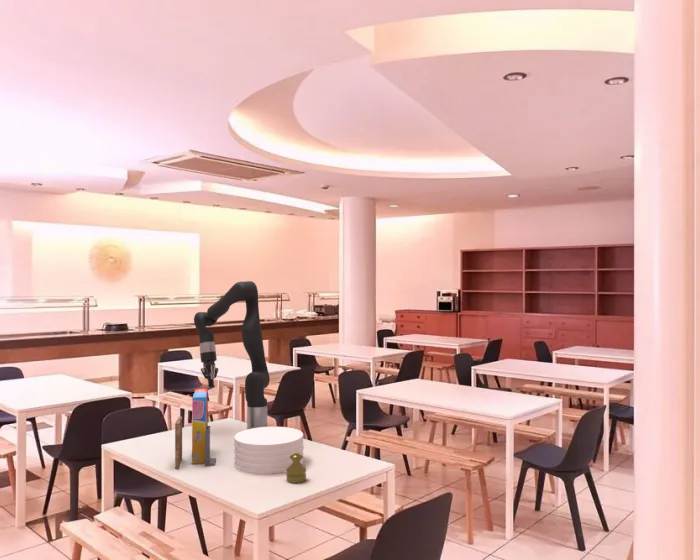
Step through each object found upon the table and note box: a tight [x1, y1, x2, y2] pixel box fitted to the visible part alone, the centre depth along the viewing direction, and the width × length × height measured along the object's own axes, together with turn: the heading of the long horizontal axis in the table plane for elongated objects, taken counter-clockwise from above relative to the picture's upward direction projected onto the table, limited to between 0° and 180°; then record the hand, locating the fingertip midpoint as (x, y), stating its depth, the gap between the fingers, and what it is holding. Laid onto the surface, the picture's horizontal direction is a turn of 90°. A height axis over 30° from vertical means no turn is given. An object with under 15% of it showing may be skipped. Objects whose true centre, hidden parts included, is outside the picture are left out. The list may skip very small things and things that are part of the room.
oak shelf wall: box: [174, 416, 183, 470], centre depth 227 cm, size 2×12×18 cm, turn 11°
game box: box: [191, 388, 209, 465], centre depth 237 cm, size 21×6×27 cm, turn 12°
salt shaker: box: [286, 453, 307, 484], centre depth 208 cm, size 7×7×10 cm
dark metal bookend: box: [204, 425, 217, 467], centre depth 229 cm, size 4×8×14 cm, turn 11°
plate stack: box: [233, 426, 304, 475], centre depth 229 cm, size 28×28×12 cm
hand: (211, 387), depth 270 cm, fingers closed
